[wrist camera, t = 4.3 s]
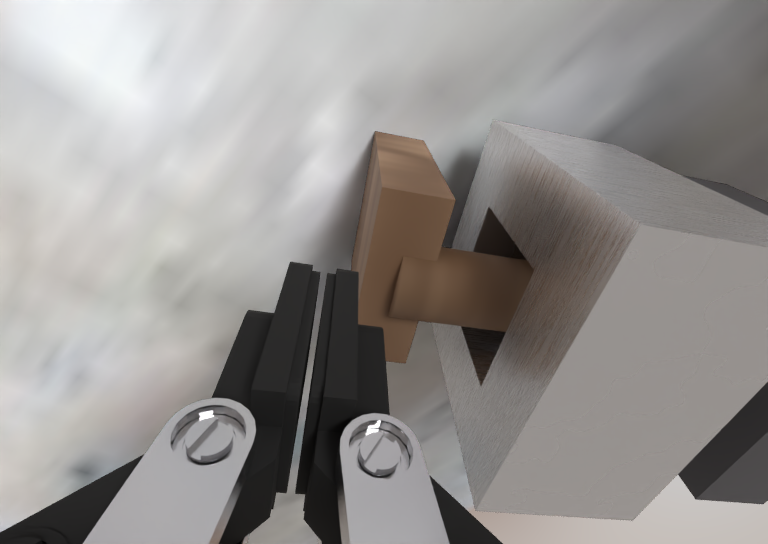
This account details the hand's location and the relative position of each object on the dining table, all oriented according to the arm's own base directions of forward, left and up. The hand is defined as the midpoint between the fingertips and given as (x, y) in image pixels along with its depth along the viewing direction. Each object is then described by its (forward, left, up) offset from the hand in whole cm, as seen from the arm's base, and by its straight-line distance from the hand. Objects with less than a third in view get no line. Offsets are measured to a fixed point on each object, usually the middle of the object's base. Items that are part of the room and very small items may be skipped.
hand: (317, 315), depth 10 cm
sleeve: (0, +8, -7) cm, 10 cm away
